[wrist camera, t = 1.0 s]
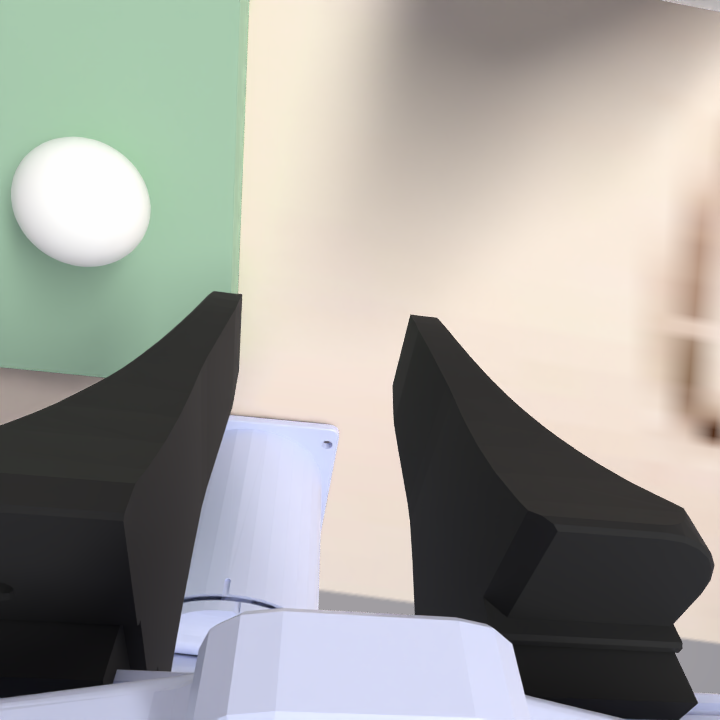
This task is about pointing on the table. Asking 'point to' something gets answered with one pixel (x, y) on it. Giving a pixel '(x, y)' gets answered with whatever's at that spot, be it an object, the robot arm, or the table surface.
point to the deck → (142, 148)
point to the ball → (80, 201)
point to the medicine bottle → (699, 4)
